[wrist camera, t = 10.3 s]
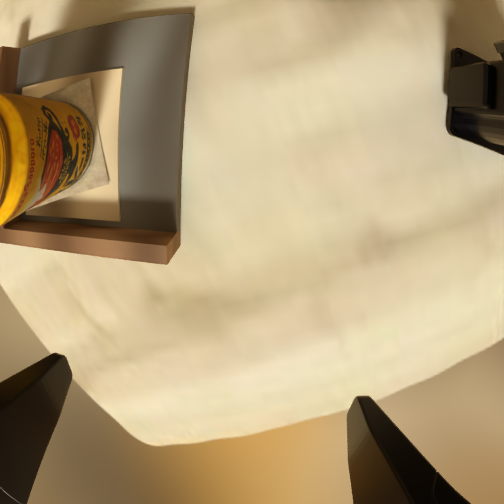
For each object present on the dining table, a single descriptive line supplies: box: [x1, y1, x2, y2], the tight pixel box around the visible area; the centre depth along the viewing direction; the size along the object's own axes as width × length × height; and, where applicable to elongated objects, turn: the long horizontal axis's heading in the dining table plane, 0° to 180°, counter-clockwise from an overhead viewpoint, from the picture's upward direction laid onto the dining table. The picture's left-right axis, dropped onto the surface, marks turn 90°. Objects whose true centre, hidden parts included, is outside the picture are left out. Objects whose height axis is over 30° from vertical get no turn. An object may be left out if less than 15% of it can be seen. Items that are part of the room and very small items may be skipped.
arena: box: [0, 13, 194, 265], centre depth 16 cm, size 15×15×3 cm
